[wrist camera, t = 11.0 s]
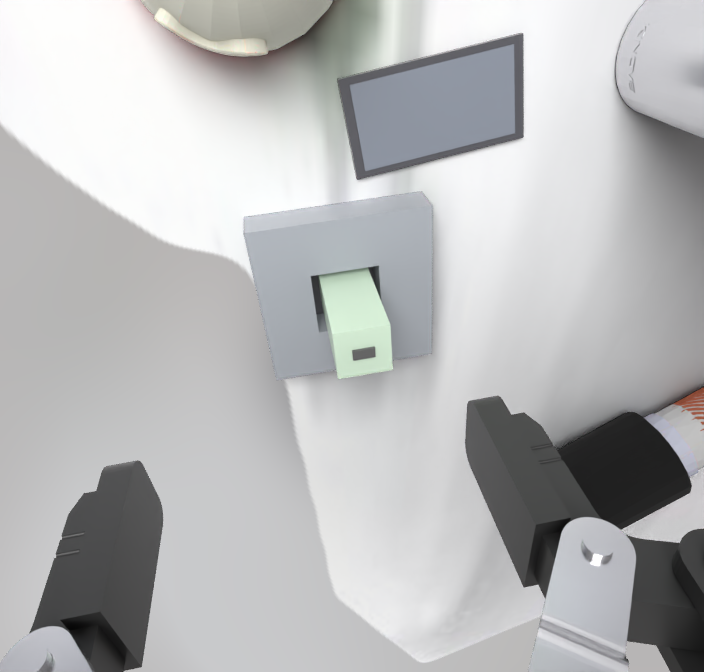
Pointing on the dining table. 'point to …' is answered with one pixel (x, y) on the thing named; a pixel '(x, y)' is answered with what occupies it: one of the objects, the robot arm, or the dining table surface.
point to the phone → (434, 106)
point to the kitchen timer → (238, 22)
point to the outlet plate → (335, 256)
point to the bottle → (639, 460)
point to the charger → (356, 323)
